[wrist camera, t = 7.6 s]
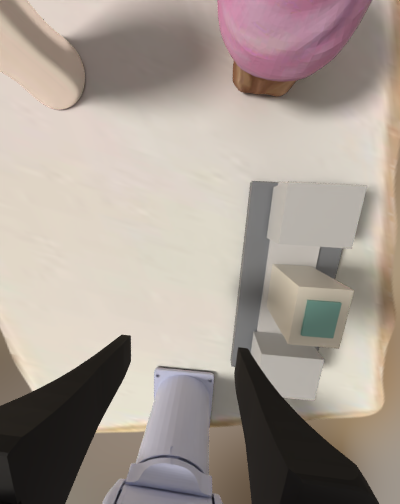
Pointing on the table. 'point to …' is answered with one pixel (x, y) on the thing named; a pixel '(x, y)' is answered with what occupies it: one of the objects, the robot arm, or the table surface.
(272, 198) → the rail board
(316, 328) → the block
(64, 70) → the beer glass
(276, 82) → the cupcake
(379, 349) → the table surface
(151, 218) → the table surface
